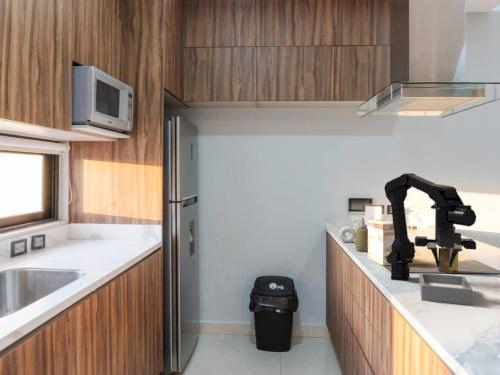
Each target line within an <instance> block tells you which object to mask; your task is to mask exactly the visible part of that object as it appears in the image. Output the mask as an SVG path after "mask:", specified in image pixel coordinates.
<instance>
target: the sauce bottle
mask: <svg viewBox="0 0 500 375" xmlns="http://www.w3.org/2000/svg"><path fill="white" fill-rule="evenodd" d="M454 233H456V226H455V225H454ZM441 248H448V249H450V251H451V248H450V247H441ZM458 269H459V252H458V253H457V255H456V257H455V259H454V261H453V264H452V266H451V268H450V272H449V273H448V274H457V273H458V272H459V270H458Z"/></svg>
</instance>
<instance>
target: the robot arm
mask: <svg viewBox="0 0 500 375" xmlns="http://www.w3.org/2000/svg"><path fill="white" fill-rule="evenodd" d="M411 188H413V189H416V190H419V191H420V192H423V193H424V194H426V195H427V196H428V197H429V199H430V200H432V201H433V202H434V203H433V204H432V205H431V206H430V209H433V210H435V211H434V212H435V214H434V215H435V219H434V221H435V222H434V224H435V226H434V227H435V228H434V232H435V233H434V239H433V238H428V237H427V236H425V235H423V236H421V235H417V236H415V237H414V241H411V240H410V238H409V235H408V228H407V227H408V225H407V218H406V208H405V200H406V199H407V196H408V190H410V189H411ZM384 192H385V197H386V199H387V201H389V203H390V207H391V215H392V216H391V217H392V223H393V227H394V236H395V239H394V241H393V243H392V247H391V253H390V254H389V255H388V256H387V257H386V259H387V263H390V264H391V265H390V267H391V268H390V270H391V271H390V279H391V280H397V281H409V279H410V270H411V268H410V266H409V264H412V263H413V261H414V259H415V255H416V252H417V250H416V248H415V247H422V248H425V247H426V249H427V250H430V251H431V253H432V255H433V257H434V261H435V264H436V267H437V268H438V267H439V261H438V254H439V253H438V248H442V247H450V248H451V251H450V268H451V266H452V264H453V261H454V259H455V257H456V255H457V253H458V254H459V253H460V252H463V248H464V249H465V250H474V251H475V250H477V242H476V241H475V240H474V239H473V238H466V237H465V238H463V237H462V233H461V232H455V233H454V226H455V225H456V226H457V225H458V226H462V227H463V226H464V227H472V226H474V225H475V223H476V220H477V215H476V212H475V211H474V210H473V209H472V205H471V204H467V205H466V204H464V202H463V201H462V198H461V196H460V195H459V193H458V192H457V189H456V187H454V186H452V185H446V184H437V183H436V182H432V181H431V180H428V179H425V178H424V177H421V176H419V175H417V174H416V173H412V172H410V173H403V174H401V175H399V176H398V177H395V178H393V179H391V180H389V181H387V182H386V183H385V185H384ZM437 246H438V248H437Z"/></svg>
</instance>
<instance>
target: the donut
mask: <svg viewBox="0 0 500 375" xmlns="http://www.w3.org/2000/svg"><path fill="white" fill-rule="evenodd" d="M347 232H348V233H349V234H350V235H349V236H346V233H347ZM338 233H339V234H338V235H339V236H338V237H339V239H340V240H341V241H342V242H344V243H347V244H348V243H352V242H353V241H355V237H356V229H354V228H353V227H352V226H344V227H342V228H340V231H339V232H338Z"/></svg>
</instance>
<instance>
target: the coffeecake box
mask: <svg viewBox="0 0 500 375" xmlns="http://www.w3.org/2000/svg"><path fill="white" fill-rule="evenodd" d="M367 229H368V251H367V260H369V261H373V262H375V263H376V264H377V265H378V264H379V265H381V266H391V264H390V263H387V259H386V257H387V256H388V255H389V254H390V253H391V247H392V243H393V241H394V239H395V236H394V227H393V221H392V222H391V221H386V220H382V219H368V220H367Z"/></svg>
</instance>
